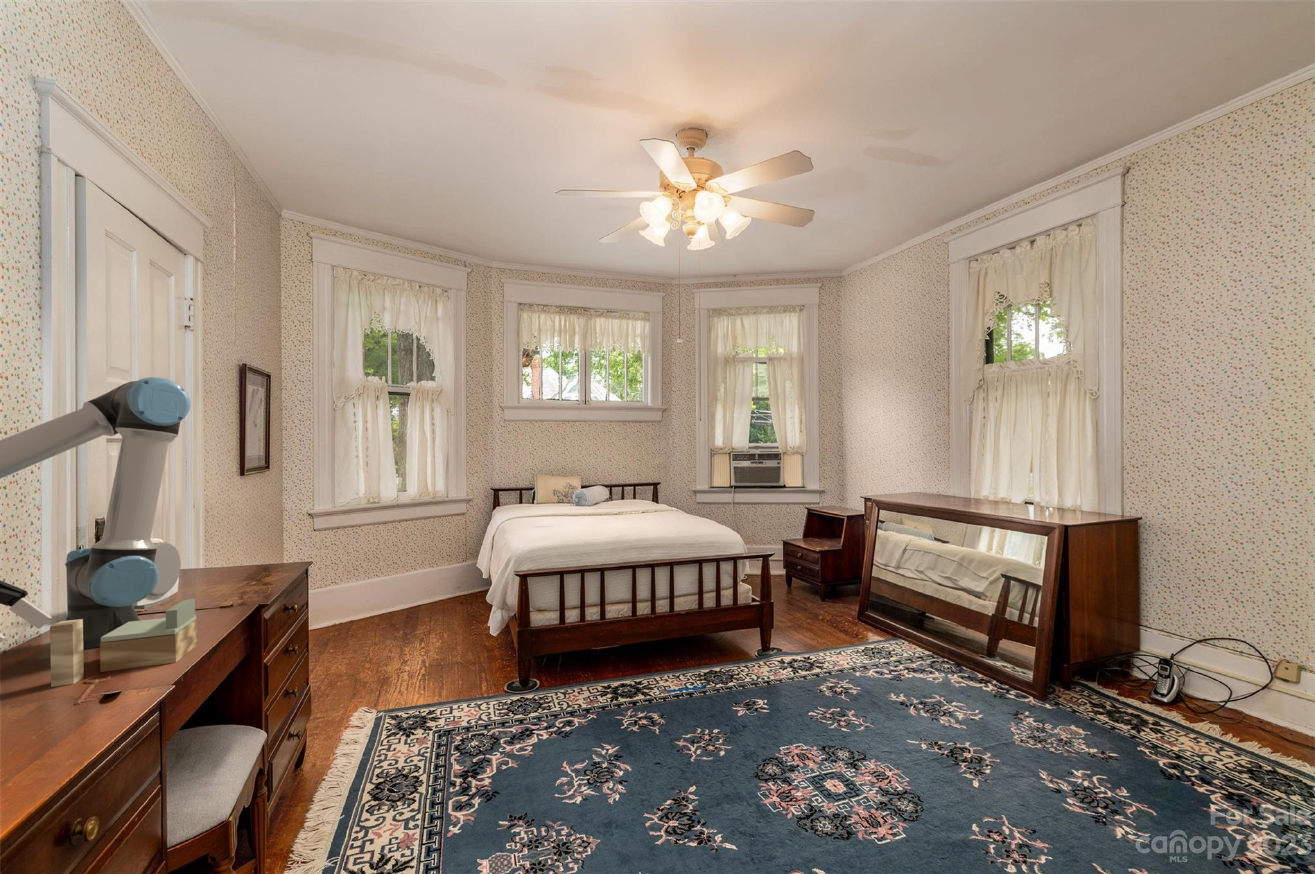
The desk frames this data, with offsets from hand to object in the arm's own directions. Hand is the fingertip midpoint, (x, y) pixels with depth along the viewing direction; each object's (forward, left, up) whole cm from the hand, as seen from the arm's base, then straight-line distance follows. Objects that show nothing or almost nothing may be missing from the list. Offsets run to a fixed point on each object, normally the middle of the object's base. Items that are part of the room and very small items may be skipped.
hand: (23, 633), depth 115 cm
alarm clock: (-65, -5, -11) cm, 66 cm away
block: (-1, +6, -11) cm, 13 cm away
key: (+6, +14, -12) cm, 19 cm away
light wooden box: (-11, +16, -11) cm, 23 cm away
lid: (-11, +16, -5) cm, 20 cm away
